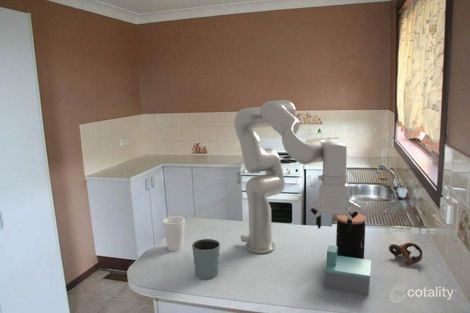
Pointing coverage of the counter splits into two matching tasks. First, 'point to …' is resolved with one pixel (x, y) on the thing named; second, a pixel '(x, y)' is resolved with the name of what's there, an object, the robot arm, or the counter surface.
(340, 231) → the coffee jar
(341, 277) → the tub
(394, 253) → the brown looped piece
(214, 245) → the green tapered cup
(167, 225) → the foam cup
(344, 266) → the teal platform with post
